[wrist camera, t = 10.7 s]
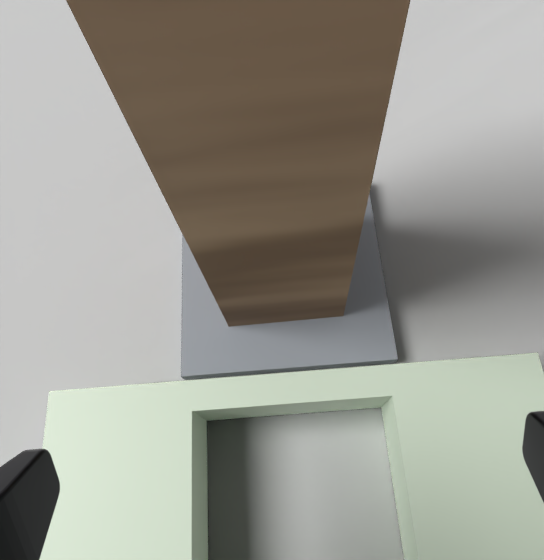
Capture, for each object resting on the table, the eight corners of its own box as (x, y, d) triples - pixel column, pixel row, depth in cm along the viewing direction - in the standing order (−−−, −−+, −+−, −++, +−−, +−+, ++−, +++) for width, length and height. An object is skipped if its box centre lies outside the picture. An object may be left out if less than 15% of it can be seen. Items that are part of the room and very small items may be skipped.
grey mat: (395, 362, 18) (397, 359, 17) (184, 379, 18) (180, 376, 18) (365, 185, 21) (366, 176, 21) (186, 201, 22) (182, 194, 21)
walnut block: (343, 316, 18) (427, -84, 5) (228, 326, 18) (47, -39, 6) (329, 216, 20) (368, -264, 7) (224, 226, 20) (80, -226, 7)
